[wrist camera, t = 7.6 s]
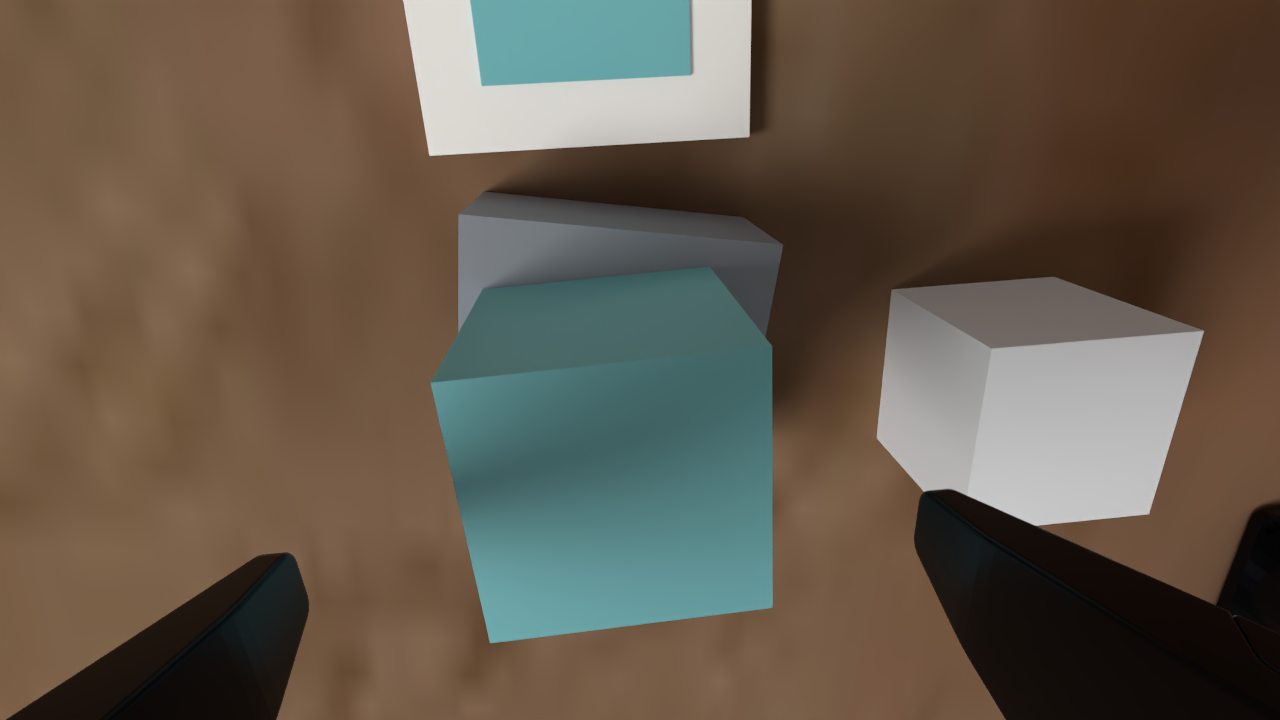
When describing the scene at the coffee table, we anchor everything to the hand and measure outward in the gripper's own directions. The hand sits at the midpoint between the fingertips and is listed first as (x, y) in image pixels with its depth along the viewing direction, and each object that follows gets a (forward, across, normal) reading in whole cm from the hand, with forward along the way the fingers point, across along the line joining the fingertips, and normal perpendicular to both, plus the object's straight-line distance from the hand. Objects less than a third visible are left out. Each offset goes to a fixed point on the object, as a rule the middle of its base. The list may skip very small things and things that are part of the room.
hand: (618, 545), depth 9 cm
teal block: (+6, 0, 0) cm, 6 cm away
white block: (+10, -11, +2) cm, 15 cm away
